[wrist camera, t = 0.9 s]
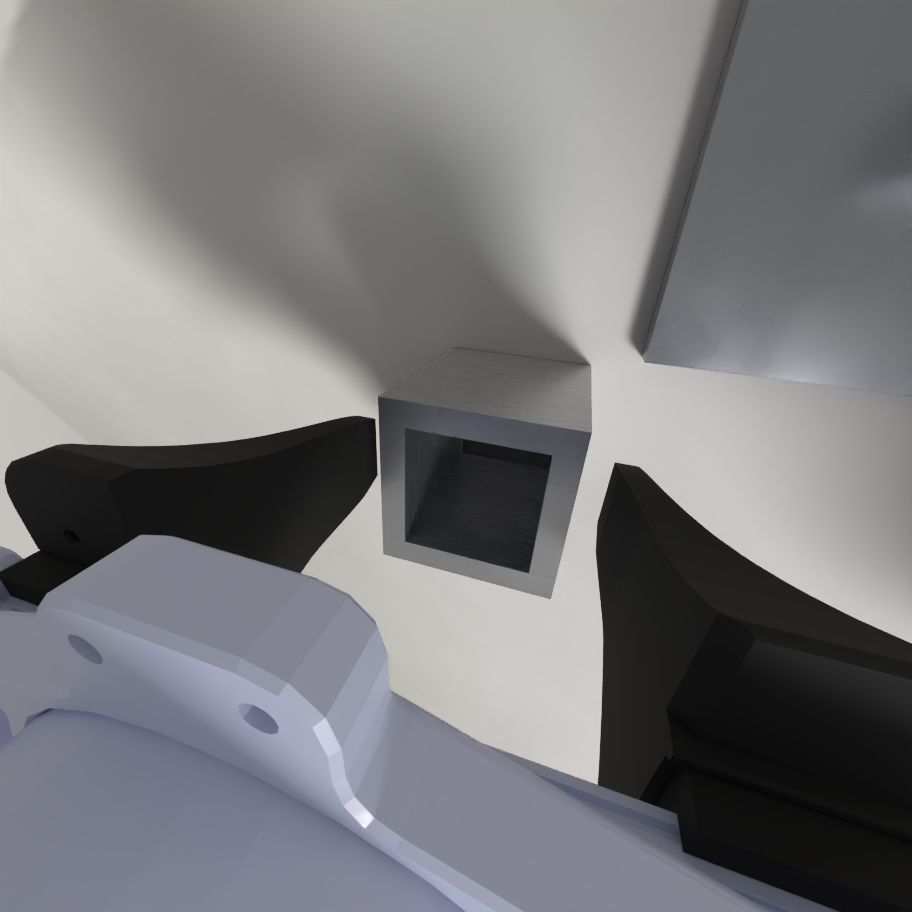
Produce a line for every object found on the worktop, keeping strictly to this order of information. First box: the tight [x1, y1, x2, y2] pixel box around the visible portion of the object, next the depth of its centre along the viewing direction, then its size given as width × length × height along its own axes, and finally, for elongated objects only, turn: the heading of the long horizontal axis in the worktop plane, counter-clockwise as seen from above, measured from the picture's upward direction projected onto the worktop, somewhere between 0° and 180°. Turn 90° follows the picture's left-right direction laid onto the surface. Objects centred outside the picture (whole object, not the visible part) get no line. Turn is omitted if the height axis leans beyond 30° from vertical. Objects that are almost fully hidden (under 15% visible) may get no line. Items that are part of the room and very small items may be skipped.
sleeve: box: [378, 347, 592, 599], centre depth 13 cm, size 5×5×6 cm
